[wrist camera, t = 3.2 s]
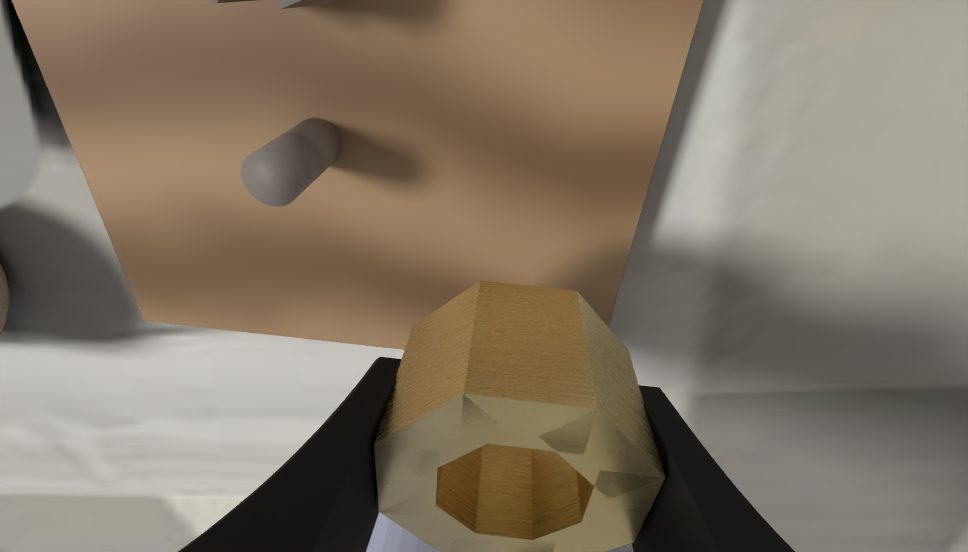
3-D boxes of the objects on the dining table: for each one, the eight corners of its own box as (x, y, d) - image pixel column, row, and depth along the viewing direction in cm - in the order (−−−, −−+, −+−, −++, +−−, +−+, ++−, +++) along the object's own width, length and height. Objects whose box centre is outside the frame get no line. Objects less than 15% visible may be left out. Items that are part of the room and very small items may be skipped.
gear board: (590, 350, 19) (609, 449, 15) (163, 303, 19) (68, 387, 15) (777, -322, 9) (976, -559, 5) (-97, -396, 9) (-554, -676, 5)
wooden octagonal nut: (595, 448, 13) (615, 578, 10) (412, 427, 14) (381, 551, 11) (645, 298, 11) (693, 419, 8) (412, 272, 11) (369, 383, 8)
